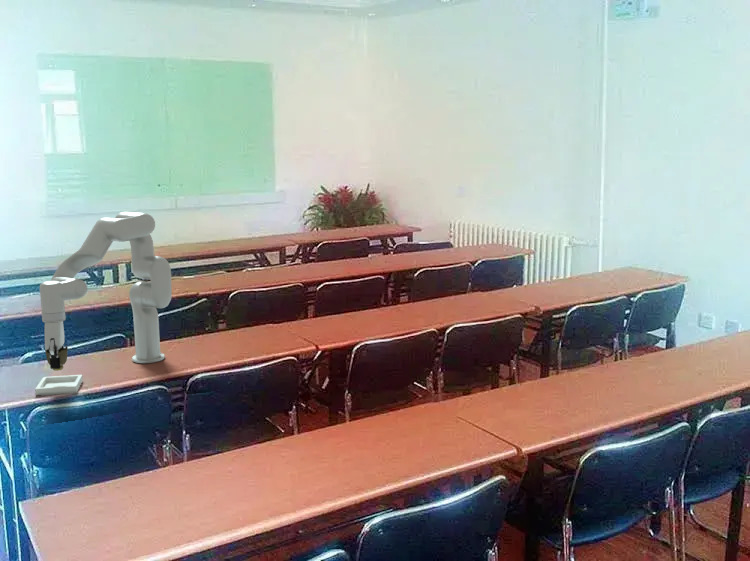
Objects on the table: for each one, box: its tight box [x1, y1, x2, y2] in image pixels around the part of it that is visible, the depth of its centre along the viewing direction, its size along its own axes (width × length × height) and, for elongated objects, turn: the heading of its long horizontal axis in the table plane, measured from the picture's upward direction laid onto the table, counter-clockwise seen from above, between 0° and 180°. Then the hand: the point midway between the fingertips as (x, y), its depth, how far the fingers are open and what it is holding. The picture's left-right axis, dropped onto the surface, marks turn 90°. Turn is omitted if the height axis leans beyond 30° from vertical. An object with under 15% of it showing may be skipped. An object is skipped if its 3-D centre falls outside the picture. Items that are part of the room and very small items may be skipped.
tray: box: [34, 374, 84, 396], centre depth 269 cm, size 13×13×2 cm
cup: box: [44, 345, 69, 371], centre depth 267 cm, size 8×7×8 cm
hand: (57, 364), depth 268 cm, fingers closed on cup, 6 cm apart
